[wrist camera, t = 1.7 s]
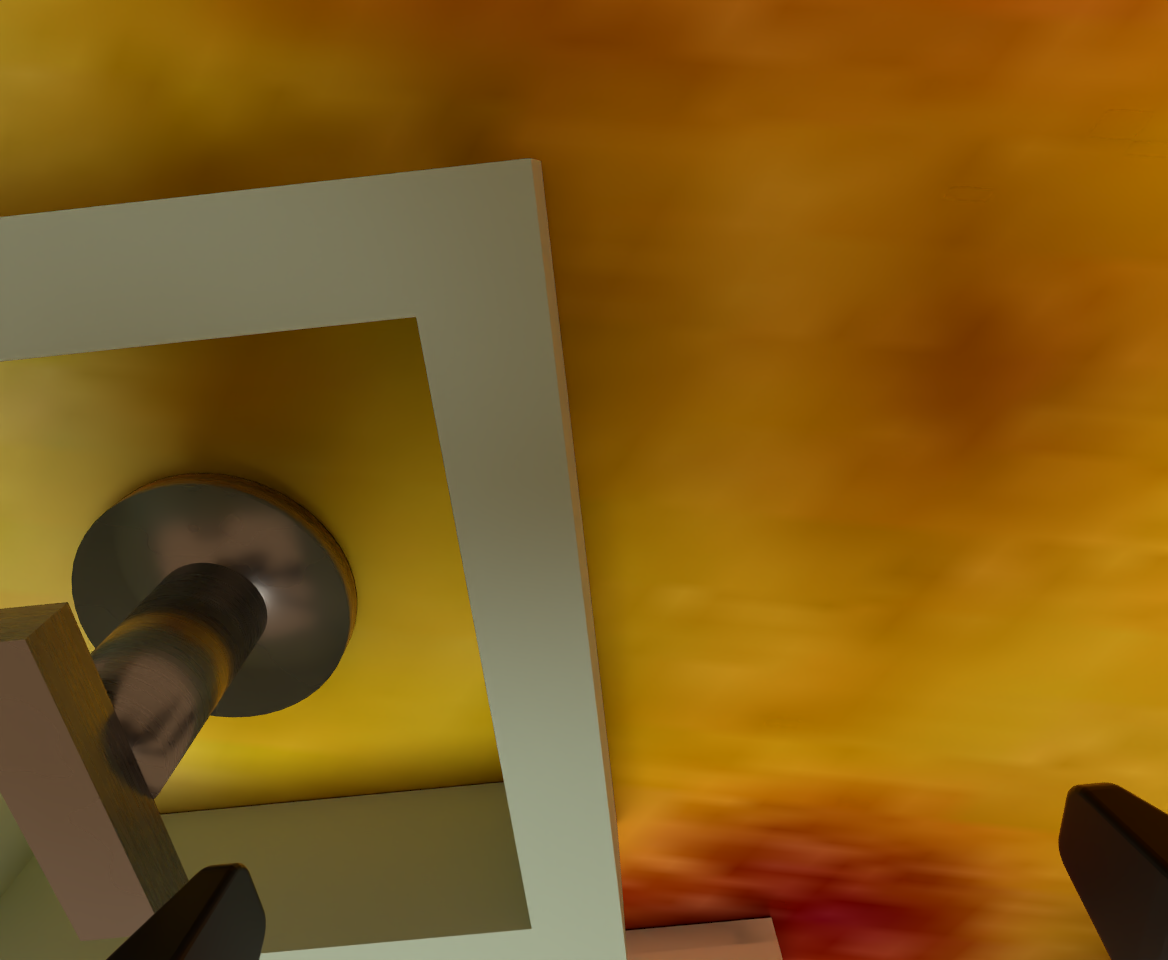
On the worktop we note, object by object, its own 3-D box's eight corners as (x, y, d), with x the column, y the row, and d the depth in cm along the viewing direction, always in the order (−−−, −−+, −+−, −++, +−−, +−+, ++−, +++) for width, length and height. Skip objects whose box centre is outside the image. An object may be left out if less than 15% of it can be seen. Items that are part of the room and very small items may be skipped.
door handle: (323, 459, 13) (186, 623, 9) (380, 685, 15) (296, 921, 10) (50, 487, 13) (-237, 665, 9) (141, 708, 15) (-50, 953, 11)
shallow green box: (540, 160, 12) (531, 157, 8) (617, 825, 17) (628, 980, 14) (-336, 258, 12) (-675, 291, 9) (15, 881, 17) (-112, 1046, 14)
